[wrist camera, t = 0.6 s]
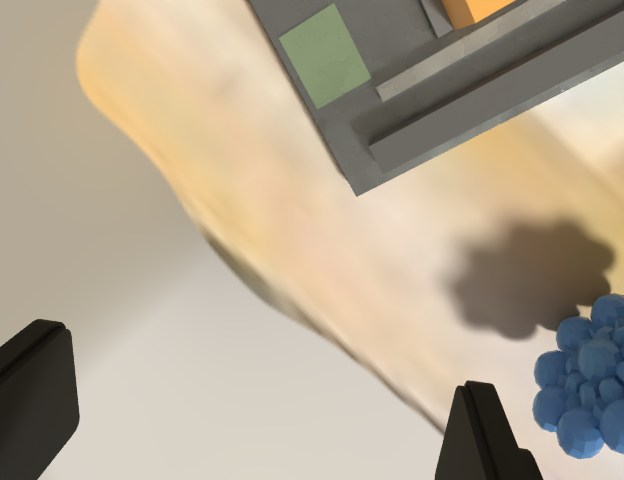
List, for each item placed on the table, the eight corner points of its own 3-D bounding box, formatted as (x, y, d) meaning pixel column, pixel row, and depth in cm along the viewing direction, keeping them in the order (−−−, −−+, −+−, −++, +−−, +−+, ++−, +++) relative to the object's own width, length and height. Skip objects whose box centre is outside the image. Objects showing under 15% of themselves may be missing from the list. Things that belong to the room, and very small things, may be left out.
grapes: (545, 398, 40) (614, 531, 29) (490, 347, 39) (539, 464, 27) (675, 312, 36) (813, 426, 25) (617, 252, 35) (734, 344, 24)
